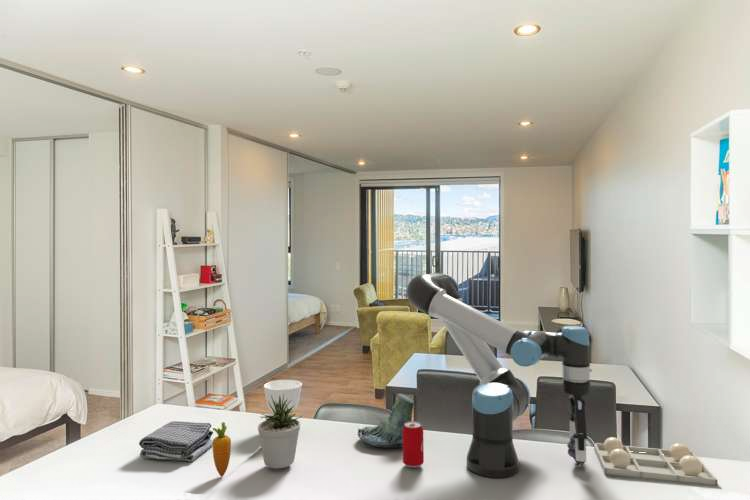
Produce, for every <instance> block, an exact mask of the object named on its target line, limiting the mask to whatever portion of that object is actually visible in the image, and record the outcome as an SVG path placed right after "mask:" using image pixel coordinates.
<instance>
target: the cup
mask: <svg viewBox="0 0 750 500" xmlns="http://www.w3.org/2000/svg"><path fill="white" fill-rule="evenodd" d="M302 386H303V383H302V382H301V381H299V380H295V379H278V380H277V379H276V380H272V381H268V382H267V383H264V385H263V391H264V395H265V399H266V405H267V408H268V409H269V411H270V412H271V413H273V414H274V412H273V410H272V408H273V409H274V411H275V412H276V410H275V407H274V404H273V400H274V402H275V403H276V402H278V403H279V396H280V397H281V408H282V400H283V393H284V400H283V404H284V402H285V401H286V400H287V399H288V400H287V401H286V403H285V404H286V405H287V404H288V403H289V401H290V403H289V404H288V405H287V407H288V409H290V408H292V407H293V406H294V407H293V408H292V410H291V411H290V413H293V412H294V411H296V409H297V407H298V405H299V402H300V395H301V392H302ZM271 395H272V397H271ZM272 398H273V400H272ZM275 400H276V401H275ZM268 401H269V402H268ZM269 403H270V405H271V406H272V408H271V407H270V405H269ZM286 405H285V406H286ZM285 406H284V408H285ZM287 407H286V410H285V411H287ZM292 411H293V412H292ZM288 416H290V414H289V415H288Z"/></svg>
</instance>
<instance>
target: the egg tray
mask: <svg viewBox="0 0 750 500" xmlns="http://www.w3.org/2000/svg"><path fill="white" fill-rule="evenodd" d="M593 450H594V452H595V455H596V457H597V459H598V462H599V465H600V467H601V469H602V472H603V475H605V476H610V477H611V476H612V477H621V478H630V479H639V480H651V481H661V482H662V481H663V482H671V483H683V484H692V485H693V484H694V485H702V486H703V485H705V486H713V487H718V478H717V477H715V476H714V475H713V473H712V472H711V471H710V470H709V468H707V466H706V465H705V464H704V462H702V461H701V460H700V459H699V457H698V456H697V455H696V454H695V453H694V452H693V451H690V454H691V456H694V457H696V458H697V459H698V460H699V461H700V462H701V465H702V471H701V473H700V474H699V475H697V476H689V475H687V474H685V473H684V472H683V471H682V470H681V468H680V465H679V462H677V461H675V460H674V459H673V458H672V457H671V455H670V452H669V450H670V449H665V448H663V449H662V448H656V447H655V448H654V447H653V448H652V447H643V446H641V447H640V446H633V445H623V450H624V451H626V452H627V453H628V455H629V457H630V464H629V466H628V467H626V468H624V469H620V468H617V467H615V466H614V465H613V464H612V463H611V461H610V454H608V453H607V452H606V450H605V448H604V443H601V442H593ZM630 451H633V452H630ZM639 452H646V453H639ZM663 454H664V455H663Z"/></svg>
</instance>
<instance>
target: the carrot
mask: <svg viewBox="0 0 750 500" xmlns="http://www.w3.org/2000/svg"><path fill="white" fill-rule="evenodd" d="M227 428H228V426H227V425H226V423H225V422H224V421H223V422H221V428H220V427H218V428H216V427H213V428H212V431H213V432H215V433H216V434H217V436H216V437H215V438H213V439H212V440H213V446H212V454H213V455H212V457H213V462H214V466H215V469H216V471H217V473H218V474H219V476H220V477H221V478H223V477H224V476H225V474H226V472H227V470H228V468H229V464H230V458H231V451H232V450H231V448H232V445H231V444H232V440H231V437H229V435H226V434H225V433H226V430H227Z"/></svg>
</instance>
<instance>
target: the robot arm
mask: <svg viewBox="0 0 750 500" xmlns="http://www.w3.org/2000/svg"><path fill="white" fill-rule="evenodd" d="M459 291H460V287H459V284H458V283H457V280H456V279H455V278H454V277H453V276H451V275H450V274H447V273H443V272H433V273H425V274H418V275H416V276H415V277H412V278H411V280H410V281H409V282H408V284H407V287H406V296H407V299H408V302H409V303H410V305H412V306H413V307H414V308H415V309H417V310H418V311H420V312H422V313H423V314H426V315H427V316H429V317H433V318H436V319H439V320H440V321H441V323H442V324H443V325H444V327H445V329H446V330H447V332H448V333H449V335H450V336H451V339H452V340H453V341H454V342H455V344H456V346H457V347H458V348H459V351H460V352H461V354H462V355H463V357H464V358H465V360H466V361H467V363H468V364H469V366H470V367H471V369H472V370H473V372H474V374H475V376H476V377H477V378H478V379H479V384H478V385H477V386H476V387H474V389H473V390H472V397H471V405H472V407H471V411H472V412H471V414H472V415H471V416H472V417H471V419H472V420H471V421H472V423H471V424H472V428H471V429H472V438H471V443H470V445H469V448H468V451H467V455H466V466H467V468H468V469H469V470H470V471H471V472H473V473H474V474H478V475H481V476H483V477H484V476H485V477H488V478H508V477H512V476H514V475H516V474H517V473H518V472H519V470H520V461H519V457H518V454H517V451H516V448H515V445H514V442H513V441H514V440H513V439H514V438H513V437H514V436H513V427H514V426H513V422H514V421H515V420H516V419H518V417H520V416H522V415H523V414H524V413H525V411H526V410H527V409H528V407H529V405H530V402H531V393H530V389H529V388H528V385H527V384H526V383H525V382H524V381H523V380H522V379H520V377H519V378H518V377H516V376H515V375H514V373H513V372H512V371H511V369H510V368H509V367H508V368H507V367H504V366H502V364H501V363H500V361H499V360H498V358H497V357H496V355H495V353H494V352H493V351H492V349H491V348H490V347H489V345H490V346H492V347H494V348H496V349H498V350H500V351H501V352H503V353H505V354H507V355H509V356H510V357H511V359H512V360H513V362H514V363H515V364H516V365H517V366H519V367H530V366H534V365H536V364H538V363H539V362H540V360H543V359H544V358H557V359H559V358H561V360H562V362H561V363H562V367H561V368H562V371H561V372H562V373H561V374H562V378H563V379H562V390H563V392H564V393H565V394H566V395H567V394H568V395H569V397H568V402H569V403H568V416H569V417H568V418H569V439H570V438H571V435H573V434H575V433H576V435H574V436H573V438H575V452H576V461H584V462H585V463H586V462H587V439H588V434H587V424H586V421H587V420H586V409H585V405H586V401H585V400H584V398H583V396H589V395H590V393H591V382H590V379H591V374H590V373H592V372H593V369H592V368H590V367H591V365H590V363H591V362H590V359H591V358H590V357H591V356H590V353H591V352H590V351H591V350H590V347H591V346H590V345H591V344H590V335H589V329H587V328H586V327H584V326H578V325H577V326H576V325H571V326H570V325H568V326H567V325H566V326H563V327H562V328H561V332H552V331H544V330H543V331H541V330H540V331H539V330H536V329H535V330H524V331H523V332H521V331H519V330H518V329H517V328H514V327H512V326H510V325H508V324H506V323H504V322H503V321H500V320H498V319H496V318H494V317H492V316H490V315H488V314H487V313H484V312H483V311H480V310H479V309H476V308H474V307H473V306H471V305H468V304H466V303H465V302H463V298H462V296H461V295H460V294H459ZM576 461H575V462H576Z"/></svg>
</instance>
